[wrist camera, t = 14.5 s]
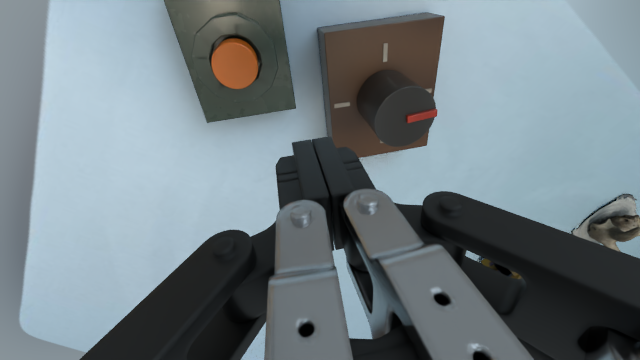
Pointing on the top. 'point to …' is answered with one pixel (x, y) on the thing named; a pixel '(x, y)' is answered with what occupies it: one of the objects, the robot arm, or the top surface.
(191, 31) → the button box
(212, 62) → the button
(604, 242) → the tan irregular piece
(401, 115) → the dial knob
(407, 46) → the dial base block
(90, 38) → the top surface
